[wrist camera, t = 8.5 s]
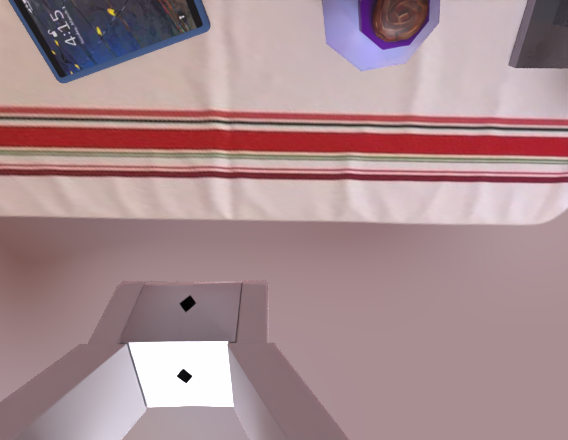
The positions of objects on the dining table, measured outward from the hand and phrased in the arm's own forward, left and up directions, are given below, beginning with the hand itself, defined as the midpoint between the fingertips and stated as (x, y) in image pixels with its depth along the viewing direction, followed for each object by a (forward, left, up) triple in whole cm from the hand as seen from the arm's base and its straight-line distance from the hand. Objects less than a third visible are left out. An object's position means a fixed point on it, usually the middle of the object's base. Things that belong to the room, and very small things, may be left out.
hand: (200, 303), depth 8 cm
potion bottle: (-4, +9, -31) cm, 33 cm away
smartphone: (-3, -12, -32) cm, 34 cm away
